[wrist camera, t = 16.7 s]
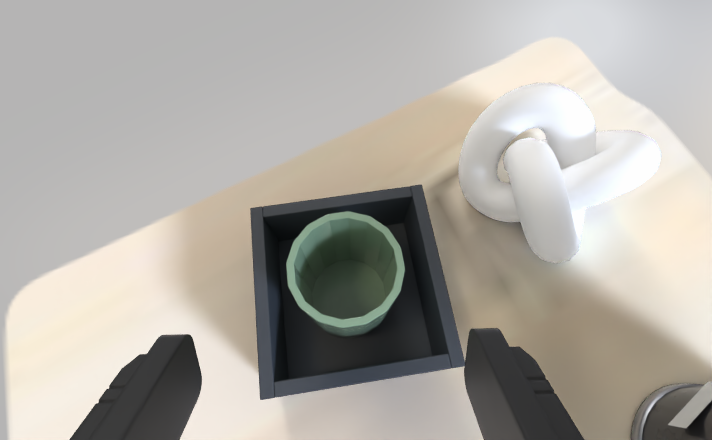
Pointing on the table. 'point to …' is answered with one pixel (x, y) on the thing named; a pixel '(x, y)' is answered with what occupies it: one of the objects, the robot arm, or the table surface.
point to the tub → (383, 345)
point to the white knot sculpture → (550, 165)
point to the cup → (345, 273)
